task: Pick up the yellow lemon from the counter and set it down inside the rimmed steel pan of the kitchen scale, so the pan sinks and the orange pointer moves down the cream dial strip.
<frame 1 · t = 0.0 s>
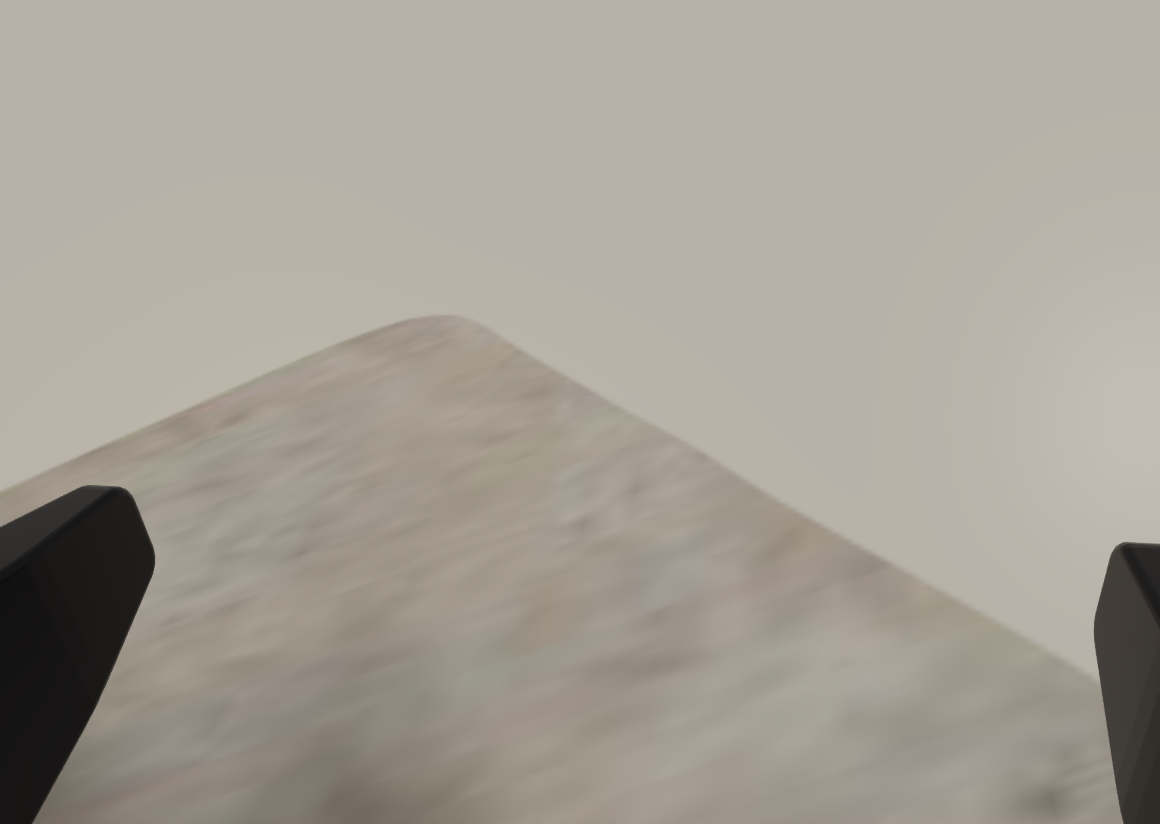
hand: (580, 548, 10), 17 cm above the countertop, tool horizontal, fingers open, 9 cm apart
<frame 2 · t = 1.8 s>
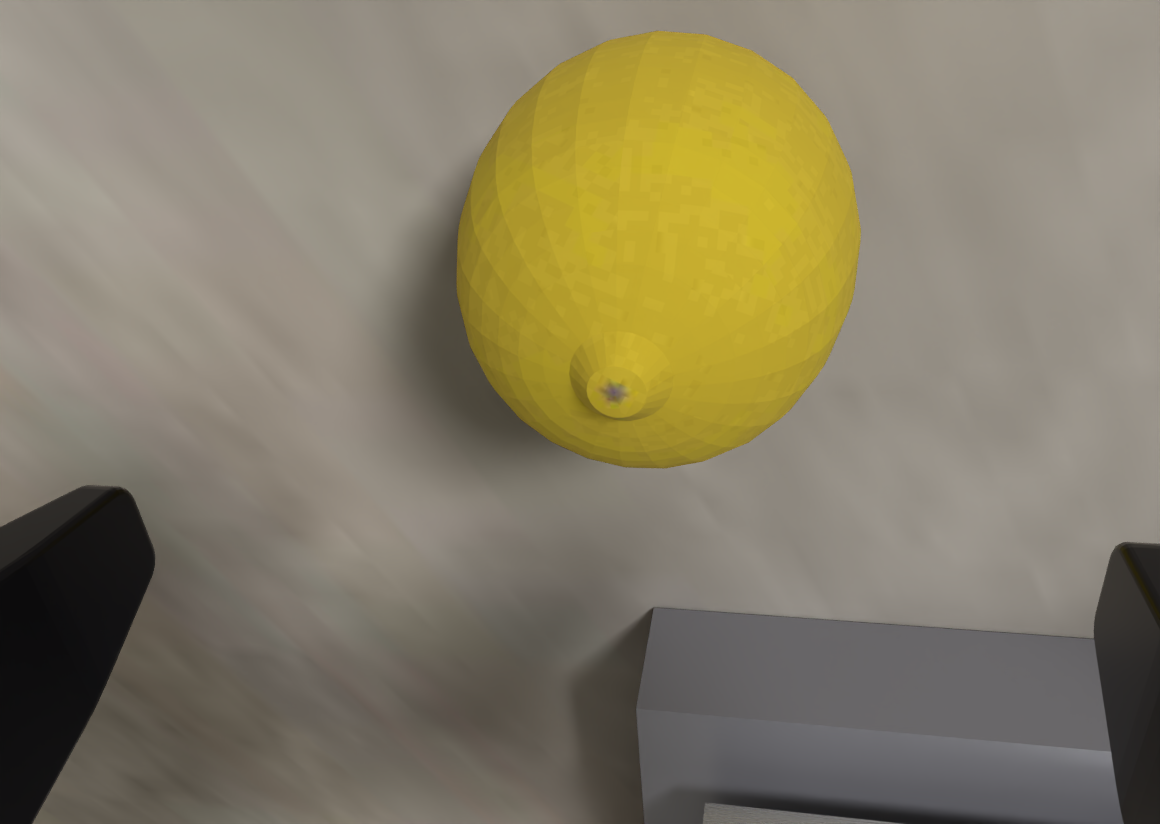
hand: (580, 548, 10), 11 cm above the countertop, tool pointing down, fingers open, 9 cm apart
lemon: (686, 142, 18), on the countertop
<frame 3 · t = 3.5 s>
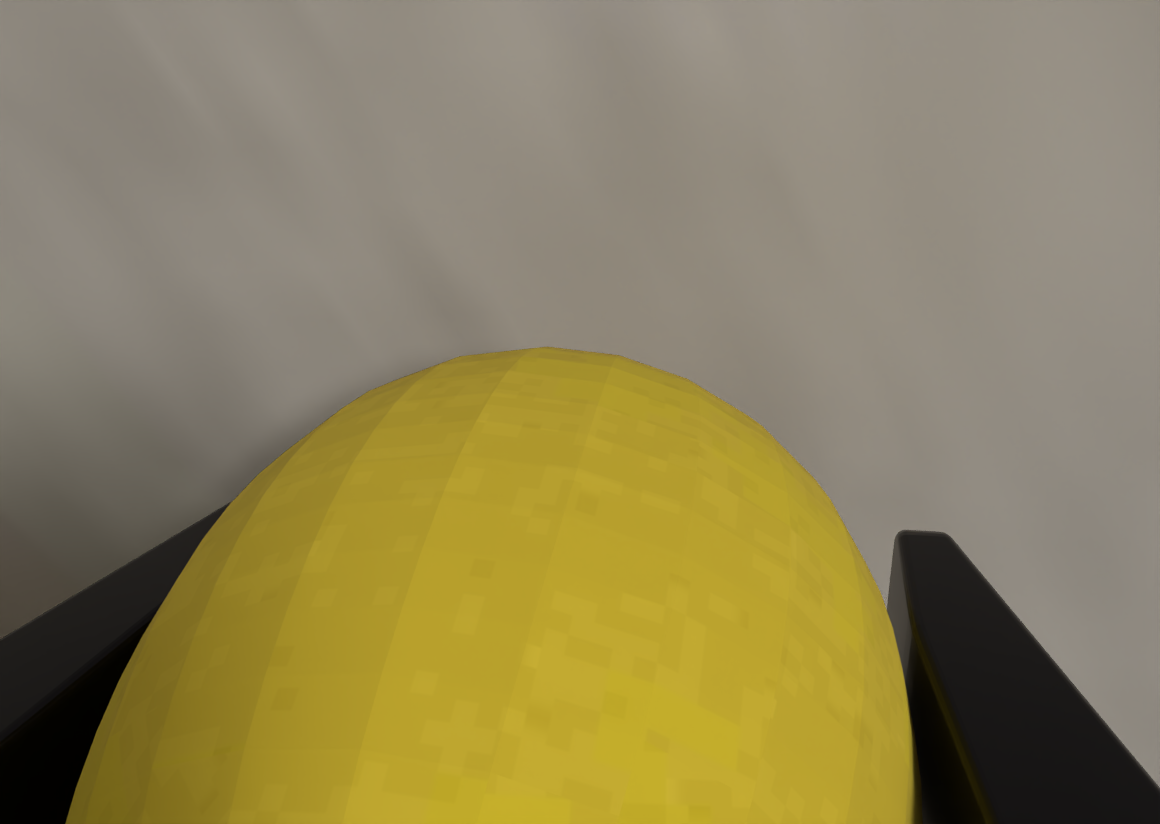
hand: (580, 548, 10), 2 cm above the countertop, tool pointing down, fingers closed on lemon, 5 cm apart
lemon: (611, 433, 11), on the countertop, touching gripper
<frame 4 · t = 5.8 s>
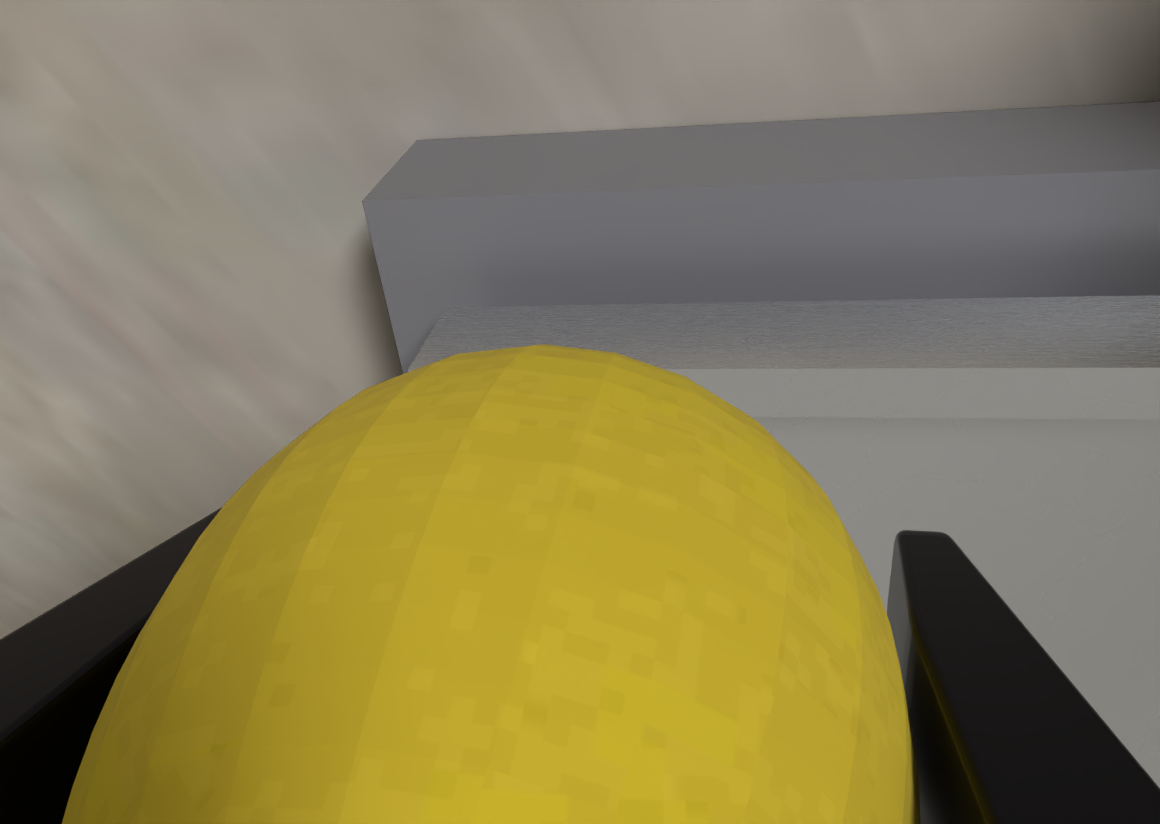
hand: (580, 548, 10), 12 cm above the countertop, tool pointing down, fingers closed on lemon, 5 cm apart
lemon: (608, 431, 11), point 10 cm above the countertop, touching gripper
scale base: (885, 519, 23), on the countertop
scale pan: (894, 708, 20), point 4 cm above the countertop, slide at 0.0 cm
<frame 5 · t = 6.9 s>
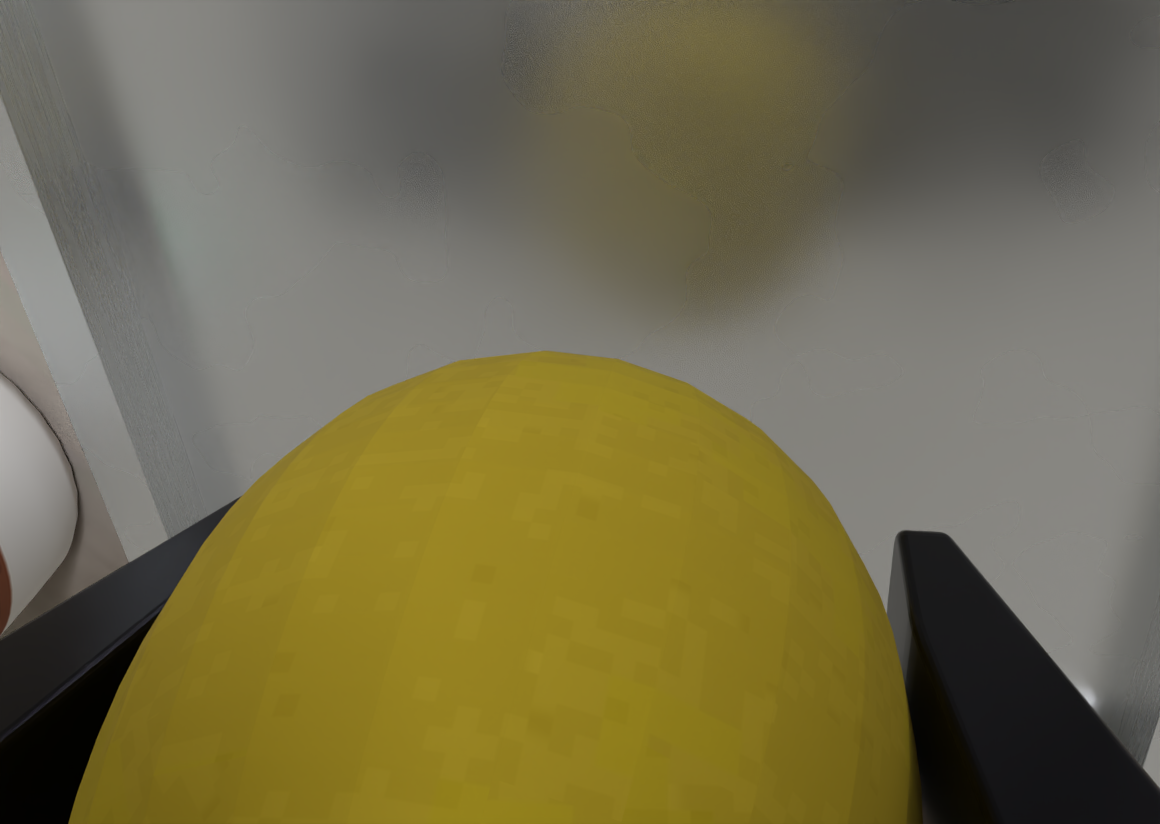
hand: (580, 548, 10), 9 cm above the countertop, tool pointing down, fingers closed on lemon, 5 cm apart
lemon: (609, 436, 11), point 7 cm above the countertop, touching gripper
scale pan: (645, 390, 14), point 4 cm above the countertop, slide at 0.0 cm
when the fingers open (8 cm above the countertop, at t = 8.0 s): lemon drops 2 cm, resting on scale pan.
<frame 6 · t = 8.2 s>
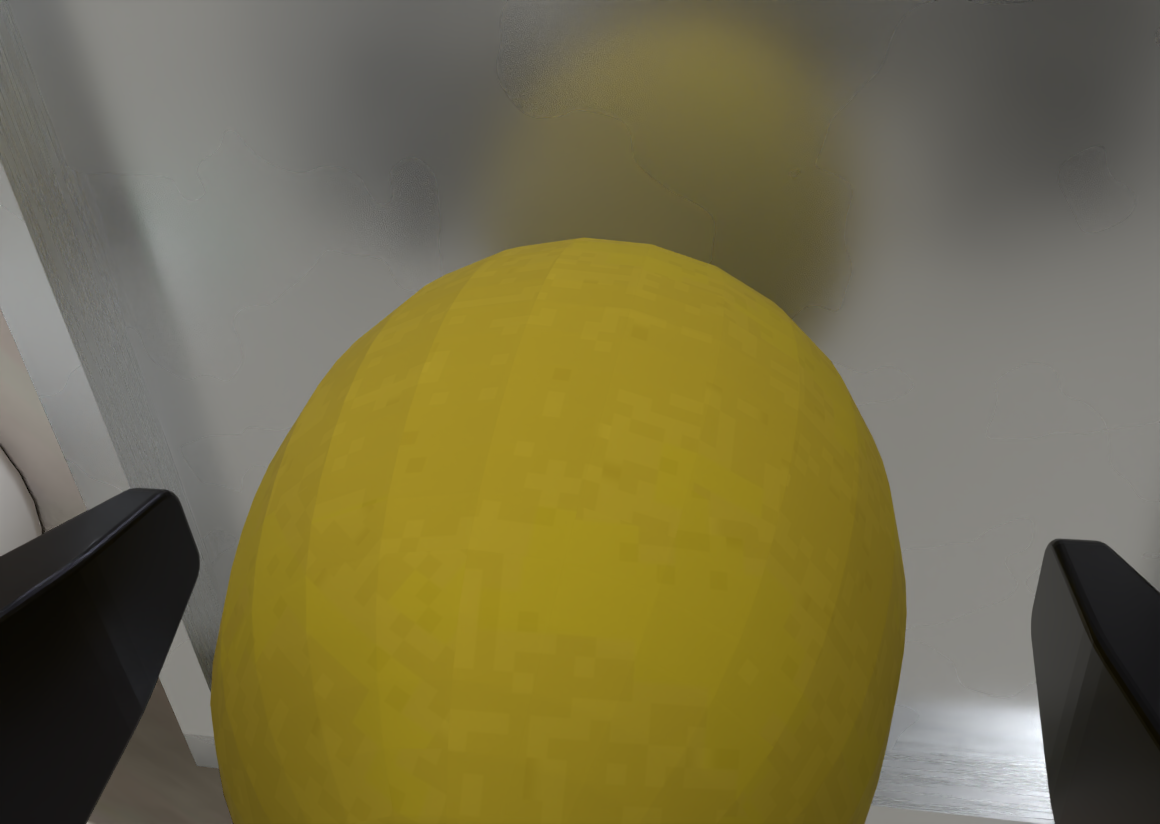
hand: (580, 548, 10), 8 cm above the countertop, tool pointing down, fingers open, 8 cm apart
lemon: (636, 338, 13), point 4 cm above the countertop, touching scale pan
scale pan: (646, 401, 14), point 3 cm above the countertop, slide at 1.0 cm, touching lemon, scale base
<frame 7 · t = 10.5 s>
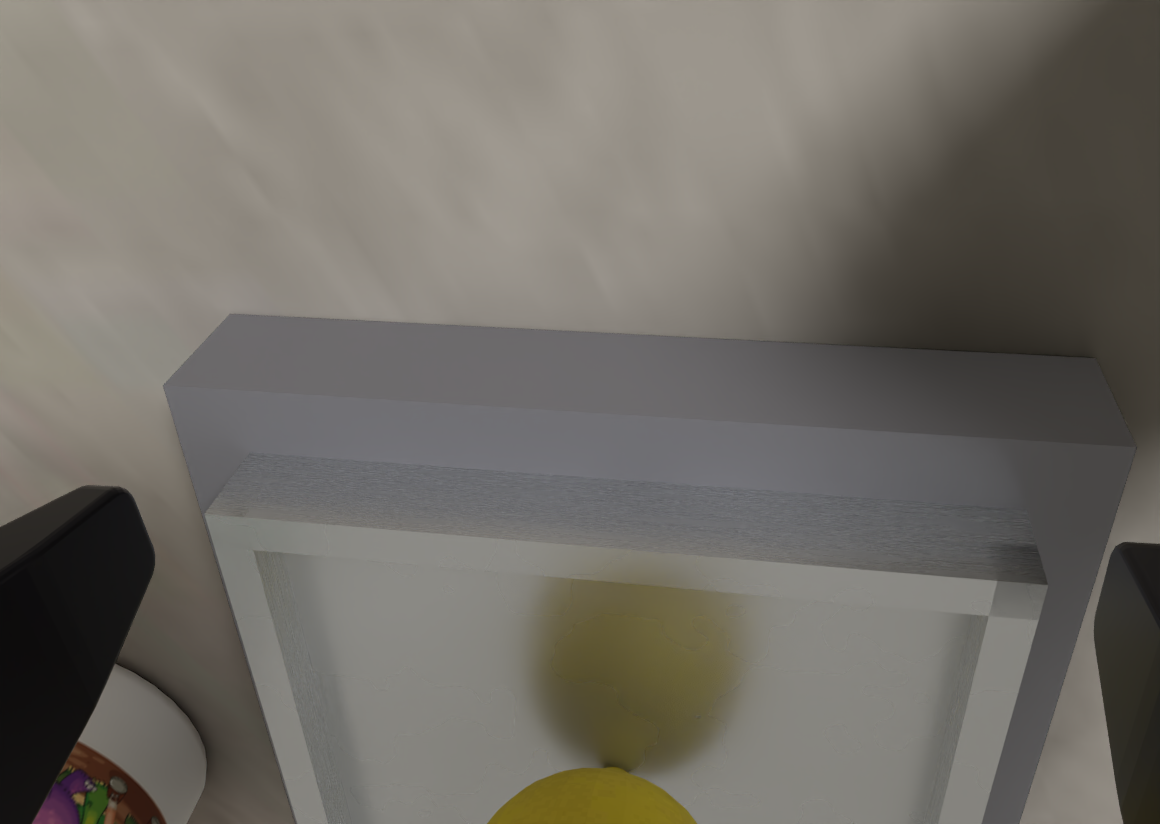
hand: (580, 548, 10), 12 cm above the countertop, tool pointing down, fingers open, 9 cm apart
lemon: (616, 764, 24), point 4 cm above the countertop, touching scale pan
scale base: (637, 643, 27), on the countertop
milk bottle: (101, 721, 33), on the countertop
scale pan: (620, 780, 25), point 3 cm above the countertop, slide at 1.0 cm, touching lemon, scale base
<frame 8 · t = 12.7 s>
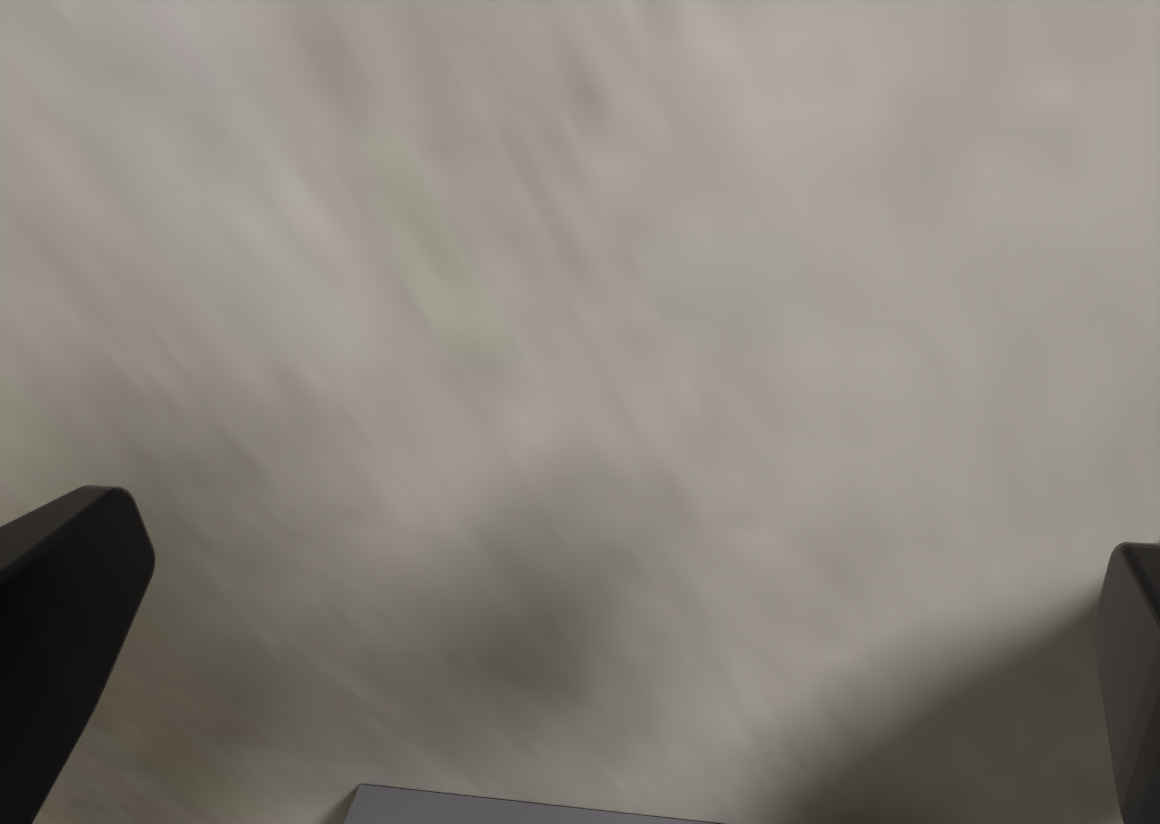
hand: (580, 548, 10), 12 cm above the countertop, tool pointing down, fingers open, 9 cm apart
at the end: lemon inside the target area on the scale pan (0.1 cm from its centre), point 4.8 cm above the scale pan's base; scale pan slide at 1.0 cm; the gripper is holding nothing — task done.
